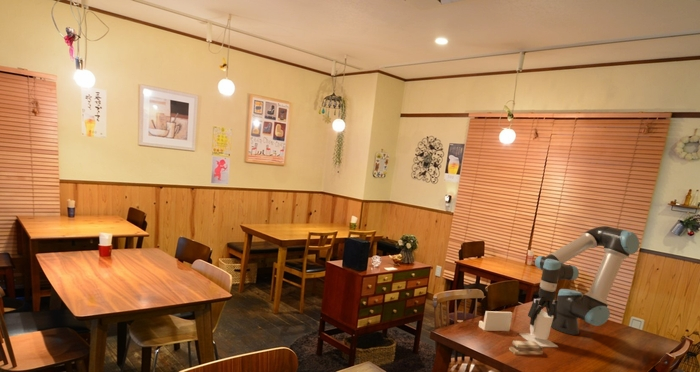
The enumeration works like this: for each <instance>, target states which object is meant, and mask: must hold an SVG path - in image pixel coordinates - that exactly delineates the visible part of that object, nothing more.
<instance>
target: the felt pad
mask: <svg viewBox="0 0 700 372" xmlns="http://www.w3.org/2000/svg"><path fill="white" fill-rule="evenodd" d="M518 335H519V336H520V337H522V338H523V339H525V341H533V342H536V343H537V344H538V345H540V346H541V347H542V348H559V346H558V344H556V343H554V342H553V341H551V340H549V339H546V340H544V339H539V338H536V337H534V336H533V335H531V333H530V332H528V333H527V332H526V333H518Z"/></svg>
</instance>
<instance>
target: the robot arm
mask: <svg viewBox="0 0 700 372" xmlns="http://www.w3.org/2000/svg"><path fill="white" fill-rule="evenodd" d="M596 247H597V248H598V247H603V248H602V249H603V251H604V254H603V257H602V260H601V262H600V264H599V267H598V269H597V272H595V276H594V277H593V281H592V282H591V285H590V288H589V290H588V291H587V292H585V293H582V292H581V291H578V290H574V289H569V288H560V289H559V290H558V294H557V297H556V290H557V286H558V281H559V280H567V281H573V280H576V279H578V277H579V274H580V271H579V269H578V267H577V266H575V265H571V264H565V263H567V262H569V261H570V260H571V259H573V258H575V257H577V256H579V255H581V254H582V253H584V252H585V251H587V250H590V249H595V248H596ZM639 248H640V239H639V236H638V235H637V234H636V233H635V232H633V231H629V230H627V229H622V228H616V227H612V226H608V225H605V226H604V225H603V226H597V227H594V228H591V229H589V230H586V231H584V232H583V233H581V235H580V236H579V237H578V238H576V239H574V240H573V241H571V242H568V243H566V244H565V245H563V246H562V247H560V248H558V249H556V250H555V251H553V252H552V253H549V254H548V255H546V256H545V255H539V256H537V257H536V258H535V261H534V265H535V267H536V268H537V269H539V270H541V271H542V273H541V279H540V283H539V289H538V294H537V295H538V297H537V298H533V299H532V303H531V306H530V308H529V311H528V314H527V317H529V318H530V321H529V324H530V325H529V331H530V330H531V331H532V332H535V327H536V322H537V320H536V318H537V314H539V313H540V311H541V310H542V311H543V310H544V308H545V310H546V312H547V314H548V316H550V317H552V315H553V316H554V318H553V321H552V325H551V329H554V330H556V331H558V332H561V333H564V334H567V335H572V336H576V335H579V333H580V328H579V321H578V319H580V320H582V321H584V322H586V323H588V324H590V325H592V326H595V327H597V326H599V327H600V326H602V325H604V324H605V323H607V321H608V320H609V318H610V315H611V314H610V309H609V308H608V306H609V303H608V301H607V299H608V297H609V295H610V292H611V290H612V287H613V285H614V283H615V280H616V278H617V276H618V273H619V271H620V270H621V266H622V264H623V262H624V260H626V259H629V257H630V255H634V254H636V253H637V252H638V251H639ZM555 298H556V299H555Z"/></svg>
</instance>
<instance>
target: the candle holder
mask: <svg viewBox="0 0 700 372" xmlns="http://www.w3.org/2000/svg"><path fill="white" fill-rule="evenodd" d="M553 318H554V316H553V315H552V317H550V316H548V314H547V311H544V310H543V309H542V310H541V311H540V313H539V314H537V318H536V320H537V322H536V327H535V332H532V331H531V330H530V329H529V331H530V332H529V333H531V335H533V336H534V337H536V338H539V339H544V340H546V339H548V338H549V336H550V332H551V329H552V327H551V325H552V321H553ZM548 340H549V339H548Z"/></svg>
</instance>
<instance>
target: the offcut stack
mask: <svg viewBox="0 0 700 372" xmlns="http://www.w3.org/2000/svg"><path fill="white" fill-rule="evenodd" d="M511 343H512V345H513V346H509V348H508V350H509V351H510V352H511V353H512V352H513V353H512V354H514V355H543V353H544V351H543V347H541V346H540V345H538V344H537V343H536V342H533V341H528V340H512V342H511Z"/></svg>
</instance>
